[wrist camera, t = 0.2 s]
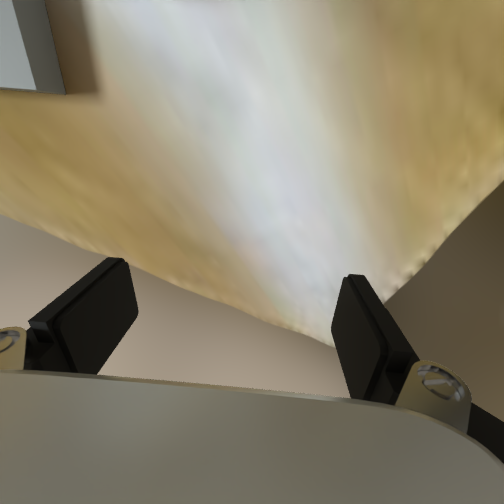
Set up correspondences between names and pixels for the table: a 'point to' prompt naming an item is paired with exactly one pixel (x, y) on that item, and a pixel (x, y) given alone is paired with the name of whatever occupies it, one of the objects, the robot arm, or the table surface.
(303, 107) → the table surface
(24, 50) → the socket block
